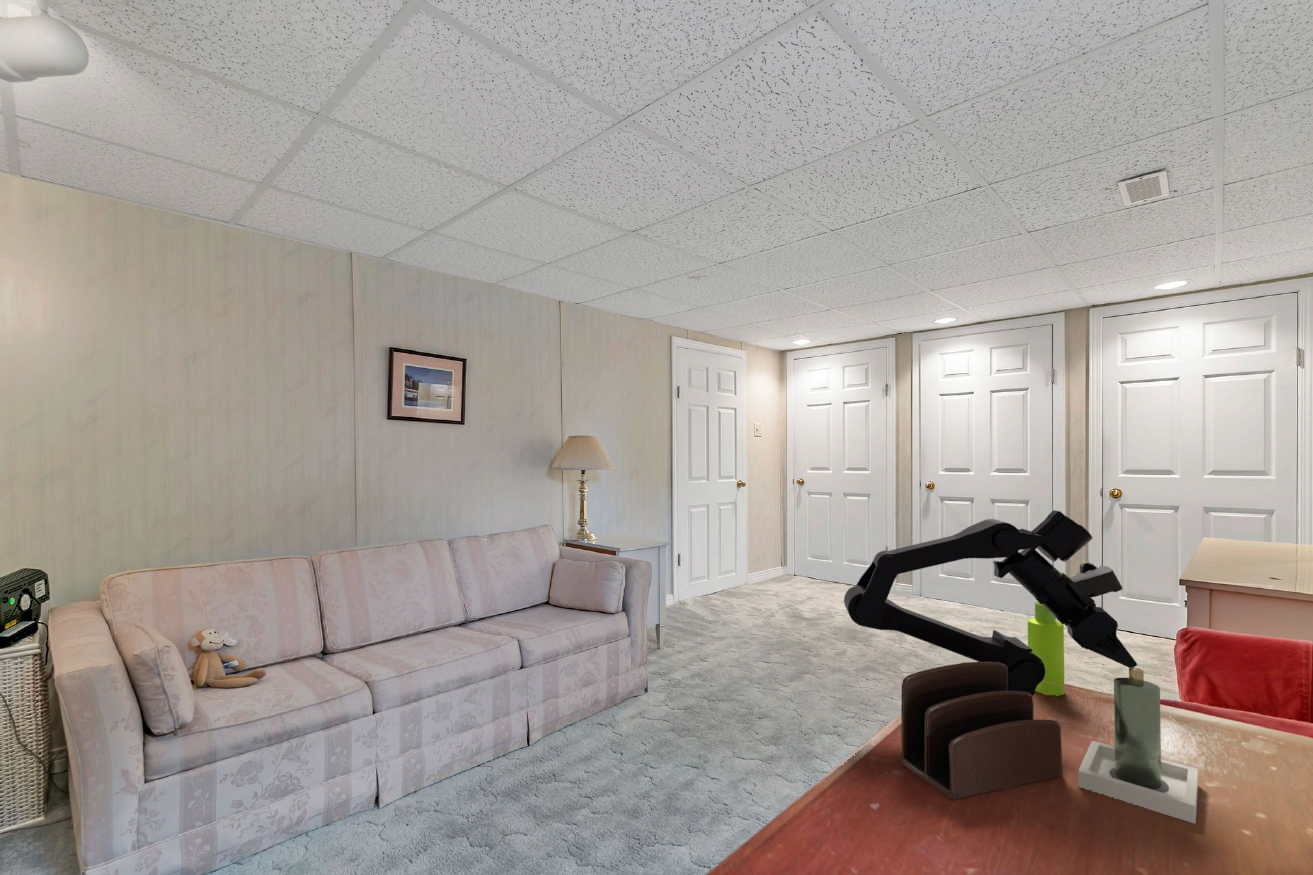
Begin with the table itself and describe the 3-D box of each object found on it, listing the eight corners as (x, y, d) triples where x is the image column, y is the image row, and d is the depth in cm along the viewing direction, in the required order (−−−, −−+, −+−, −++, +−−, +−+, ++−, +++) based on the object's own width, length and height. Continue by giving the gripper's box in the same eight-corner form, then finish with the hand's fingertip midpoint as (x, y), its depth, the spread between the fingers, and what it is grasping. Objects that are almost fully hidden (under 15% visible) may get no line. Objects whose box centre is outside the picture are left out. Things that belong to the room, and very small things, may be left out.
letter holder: (899, 765, 89) (899, 668, 89) (1004, 745, 95) (1003, 655, 95) (952, 802, 80) (951, 694, 80) (1064, 778, 86) (1063, 677, 86)
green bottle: (1105, 770, 85) (1104, 664, 86) (1137, 768, 86) (1135, 662, 86) (1138, 790, 81) (1136, 677, 81) (1171, 788, 81) (1169, 675, 81)
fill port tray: (1078, 786, 83) (1078, 770, 83) (1092, 755, 92) (1091, 740, 92) (1195, 823, 75) (1195, 805, 75) (1198, 784, 84) (1197, 768, 84)
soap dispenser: (1076, 697, 113) (1075, 590, 114) (1035, 694, 115) (1034, 588, 115) (1062, 685, 119) (1060, 583, 119) (1023, 683, 120) (1022, 582, 121)
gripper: (1098, 557, 90) (1194, 642, 85) (1070, 541, 107) (1149, 610, 102) (1037, 605, 93) (1126, 689, 88) (1019, 581, 110) (1093, 651, 105)
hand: (1125, 657), depth 96 cm, fingers open, 9 cm apart
